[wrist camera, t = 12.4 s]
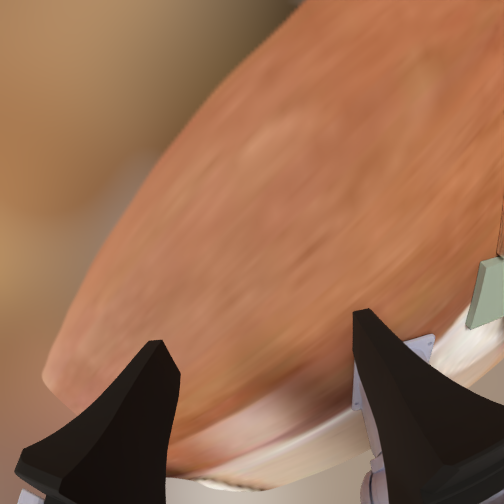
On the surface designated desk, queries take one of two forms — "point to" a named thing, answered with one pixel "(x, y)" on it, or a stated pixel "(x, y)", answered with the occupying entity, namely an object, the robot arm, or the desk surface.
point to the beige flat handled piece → (501, 236)
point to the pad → (487, 294)
